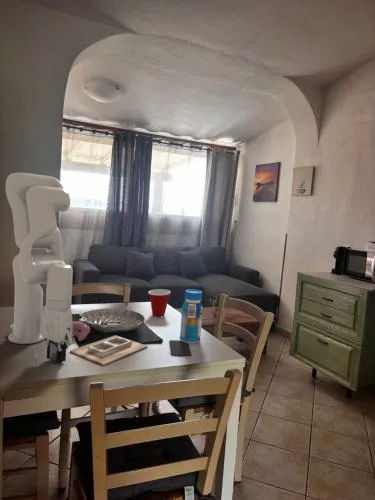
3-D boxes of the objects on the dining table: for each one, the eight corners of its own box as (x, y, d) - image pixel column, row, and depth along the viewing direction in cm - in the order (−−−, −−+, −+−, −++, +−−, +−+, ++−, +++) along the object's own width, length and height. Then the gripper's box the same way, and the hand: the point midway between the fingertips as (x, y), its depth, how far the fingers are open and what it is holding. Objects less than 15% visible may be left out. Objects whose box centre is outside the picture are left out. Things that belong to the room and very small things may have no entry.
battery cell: (46, 361, 118) (47, 340, 117) (57, 358, 121) (58, 337, 121) (54, 365, 116) (55, 343, 115) (65, 361, 119) (66, 340, 118)
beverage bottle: (174, 339, 148) (178, 289, 146) (189, 335, 154) (193, 287, 152) (189, 345, 142) (194, 294, 140) (204, 341, 148) (209, 292, 146)
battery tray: (70, 352, 127) (70, 345, 127) (115, 336, 145) (115, 331, 145) (103, 365, 118) (103, 359, 118) (147, 347, 137) (147, 341, 136)
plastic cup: (144, 312, 183) (146, 288, 181) (165, 312, 186) (167, 288, 185) (148, 318, 172) (150, 293, 171) (171, 318, 176) (173, 293, 174)
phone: (187, 340, 146) (192, 355, 131) (187, 342, 146) (191, 357, 132) (168, 340, 146) (171, 354, 131) (168, 342, 146) (171, 356, 131)
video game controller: (86, 344, 140) (93, 325, 142) (79, 341, 136) (86, 323, 138) (68, 337, 145) (75, 320, 147) (60, 335, 141) (67, 317, 143)
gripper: (31, 300, 118) (29, 355, 120) (66, 311, 109) (63, 371, 111) (51, 296, 124) (49, 349, 126) (86, 307, 115) (83, 363, 117)
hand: (56, 359), depth 118 cm, fingers closed on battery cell, 4 cm apart
